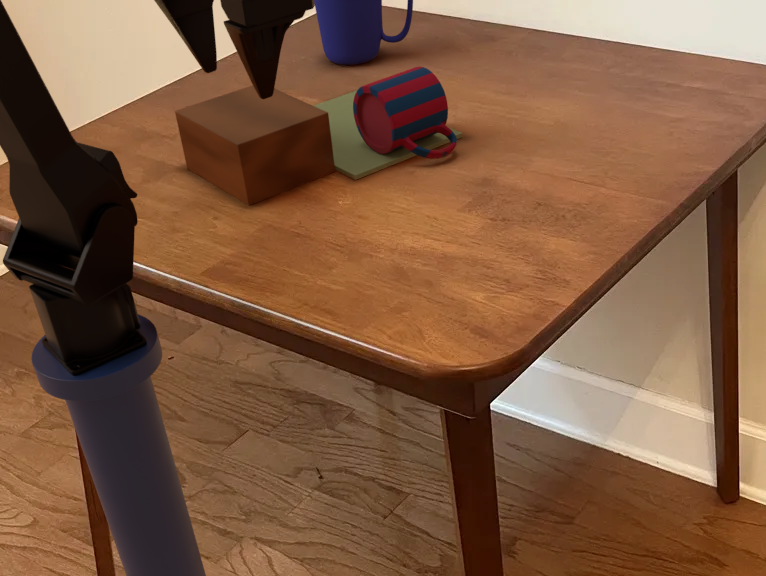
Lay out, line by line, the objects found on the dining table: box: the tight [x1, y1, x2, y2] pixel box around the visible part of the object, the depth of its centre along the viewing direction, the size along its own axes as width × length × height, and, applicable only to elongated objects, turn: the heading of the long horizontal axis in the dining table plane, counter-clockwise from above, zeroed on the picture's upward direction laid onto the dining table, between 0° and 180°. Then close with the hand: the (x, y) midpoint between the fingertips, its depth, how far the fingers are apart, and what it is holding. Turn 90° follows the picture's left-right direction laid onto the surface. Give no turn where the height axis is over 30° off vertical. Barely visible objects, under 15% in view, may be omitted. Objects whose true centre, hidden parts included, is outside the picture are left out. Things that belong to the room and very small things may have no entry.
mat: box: [313, 90, 463, 180], centre depth 107 cm, size 14×18×1 cm
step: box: [174, 84, 336, 206], centre depth 100 cm, size 10×12×6 cm
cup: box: [353, 66, 458, 160], centre depth 101 cm, size 7×10×7 cm
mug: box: [314, 0, 414, 66], centre depth 123 cm, size 8×12×10 cm
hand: (237, 84), depth 87 cm, fingers open, 9 cm apart
